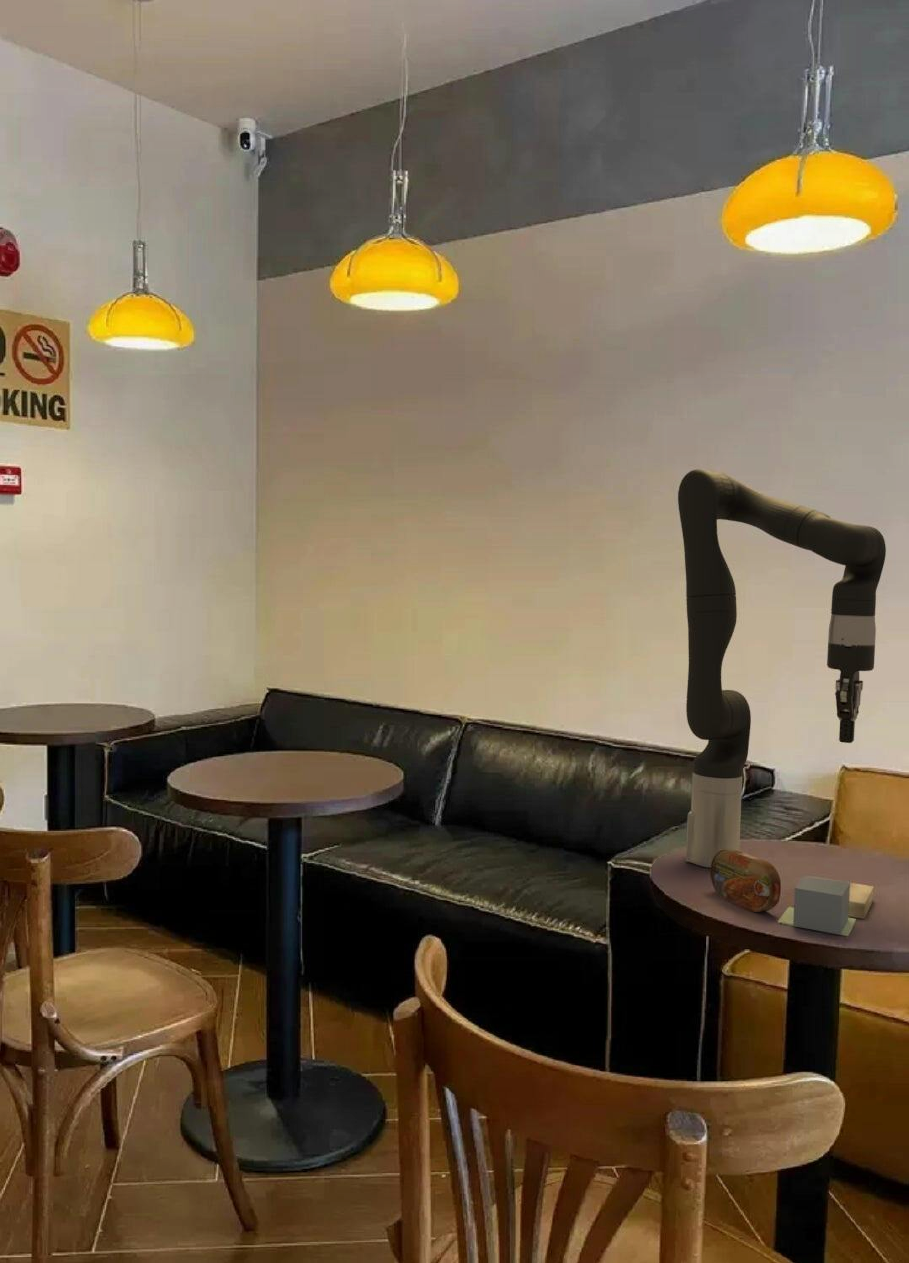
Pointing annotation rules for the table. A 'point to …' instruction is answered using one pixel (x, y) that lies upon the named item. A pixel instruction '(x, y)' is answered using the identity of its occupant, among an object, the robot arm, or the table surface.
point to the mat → (788, 920)
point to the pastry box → (821, 904)
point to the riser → (859, 899)
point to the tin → (745, 880)
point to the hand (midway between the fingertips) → (846, 742)
